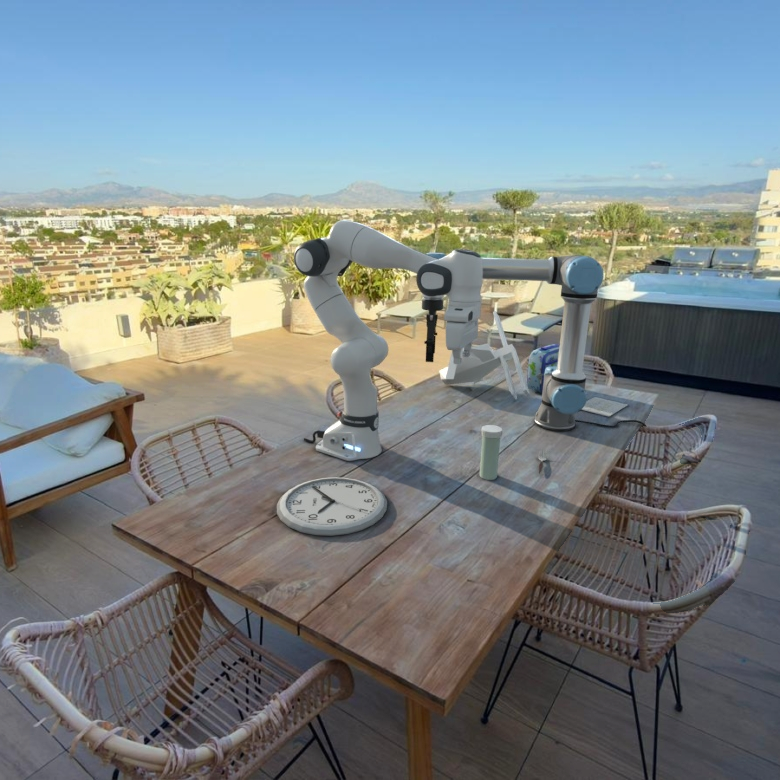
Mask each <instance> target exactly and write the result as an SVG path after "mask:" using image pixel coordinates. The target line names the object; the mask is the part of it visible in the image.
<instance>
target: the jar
mask: <svg viewBox="0 0 780 780" xmlns="http://www.w3.org/2000/svg"><path fill="white" fill-rule="evenodd" d="M481 436H482V437H481V448H480V449H481V450H480V463H479V474H478V475H479V477H480V478H481V479H483V480H487V481H492V480H493V481H494V480H496V479H497V478H498V469H499V457H500V446H501V437H499V438H487V437H484V436H483V435H482V434H481Z"/></svg>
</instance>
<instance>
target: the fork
mask: <svg viewBox="0 0 780 780" xmlns="http://www.w3.org/2000/svg"><path fill="white" fill-rule="evenodd" d="M547 458H548V451H546V450H544V449H542V451H541V449H540V450H539V454H538V460H539V461H540V463H539V464H538V474H541V472H542V469H543V467H544V465H543V464H544V463H543V462H544V461H546V460H547Z"/></svg>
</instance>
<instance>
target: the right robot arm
mask: <svg viewBox="0 0 780 780" xmlns="http://www.w3.org/2000/svg"><path fill="white" fill-rule="evenodd" d="M425 254H427V255H429V256H432V257H435V258H437V259H441V258H443V257H445V256H446V253H444V252H427V253H425ZM481 258H482V266H483V280H495V281H497V280H499V281H500V280H501V281H526V282H527V281H531V282H546V283H547V284H548V285H557V286H561V289H560V298H561V299H562V300H563V303H564V305H563V313H562V322H561V330H560V339H559V345H560V346H559V355H558V364H557V366H553V367H547V368H546V369H545V373H544V382H543V392H542V393H541V402H540V405H539V407H538V410H537V411H536V413H535V417H534V424H535V425H536V426H537V427H539V428H542V429H544V430H549V431H556V432H567V431H572V430H574V429H575V428H576V423H580V424H587V425H593V426H599V427H603V428H617V427H618V426H619V425H620V424H621V423H638V424H640V425H642V426H643V427H644V428H645V427H647V426H648V425H646V423H644V422H643V421H641V420H637V419H623V420H618V421H617V422H616V423H615V424H610V425H609V424H603V423H598V422H592V421H587V420H580V419H576V418H575V417H576V416H575V414H576V413H579V412H580V411H582V410H581V409H582V408H583V407H584V406H585V404H586V401H588V397H587V392H586V389H585V388H586V383H587V382H586V381H587V375H586V374H585V373H584V371H583V369H584V361H585V355H586V347H587V339H588V338H587V337H588V330H589V324H590V318H591V317H590V316H591V308H592V303H593V302H594V301H596V300H597V298H598V294H599V293H598V291H599V288H601V285H602V284H603V281H604V269H603V267H602V265H601V264H600V262H599V261H597V260H596V259H595V258H594V257H592V256H587V255H581V254H574V255H573V254H572V255H565V256H551V257H549V258H548V259H545V258H544V259H543V258H542V259H541V258H540V259H539V258H501V257H500V258H497V257H496V258H495V257H494V258H492V257H481ZM421 296H422V299H421V309H422V310H423V311H428V313H426V316H425V320H426V340H424V342H423V343H424V344H425V362H426V363H434V359H435V357H434V356H435V353H436V338H437V337H436V336H438V332H437V329H436V328H437V324H438V318H439V315H438V314H437V311H438V312H439V311H442V310H444V299H443V298H444V297H445V295H444V296H438V297H430V296H426V295H424V294H423V293H421Z"/></svg>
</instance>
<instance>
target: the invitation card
mask: <svg viewBox="0 0 780 780" xmlns="http://www.w3.org/2000/svg"><path fill="white" fill-rule="evenodd" d="M628 406H629V404H627V403H623V402H618V401H614V400H609V399H605V398H601V397H596V396H593V397H592V398H590V399H587V401H586V404H585V406H584V407H583V408H582V409H581V410H580V411H584V412H587V413H593V414H596V415H600V416H604V417H608V418H609V417H611V416H613V415H614V414H616V413H617V412H619V411H621V410H623V409H624V408H626V407H628Z"/></svg>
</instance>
